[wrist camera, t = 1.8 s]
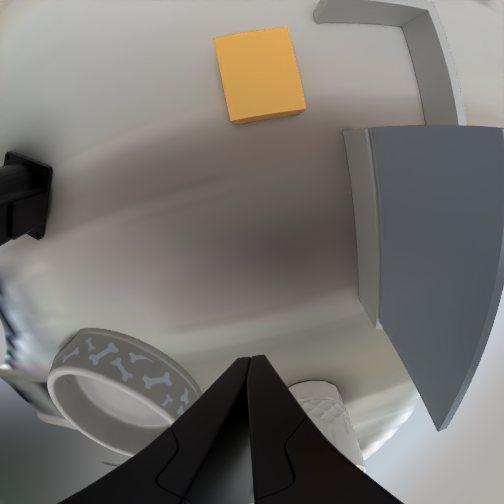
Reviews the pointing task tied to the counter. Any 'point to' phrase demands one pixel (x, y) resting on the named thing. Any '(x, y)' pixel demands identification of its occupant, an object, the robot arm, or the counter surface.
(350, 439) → the white cup
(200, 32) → the counter surface
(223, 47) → the mustard yellow box
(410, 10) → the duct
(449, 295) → the panel
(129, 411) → the dog bowl
